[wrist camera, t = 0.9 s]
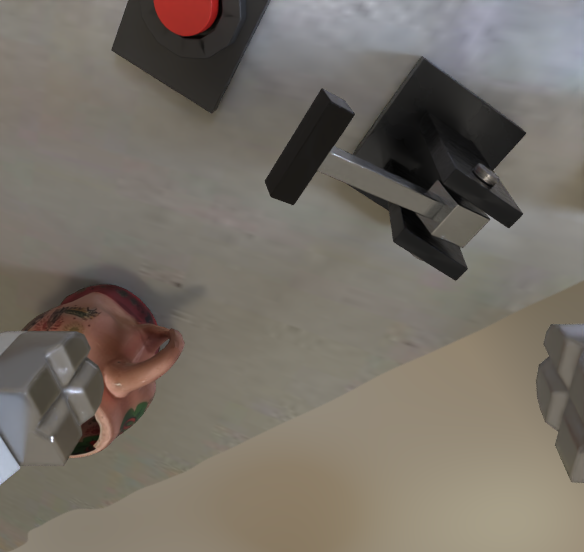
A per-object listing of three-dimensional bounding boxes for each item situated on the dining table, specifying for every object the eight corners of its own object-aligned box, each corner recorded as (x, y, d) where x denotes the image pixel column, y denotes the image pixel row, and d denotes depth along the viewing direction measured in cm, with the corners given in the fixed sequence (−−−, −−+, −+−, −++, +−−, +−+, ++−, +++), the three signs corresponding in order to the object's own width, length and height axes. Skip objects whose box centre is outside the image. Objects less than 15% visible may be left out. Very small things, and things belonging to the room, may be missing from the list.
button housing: (184, -142, 28) (167, -153, 26) (299, -57, 30) (293, -60, 27) (118, 48, 34) (99, 53, 32) (215, 109, 36) (205, 120, 33)
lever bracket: (338, 173, 37) (331, 253, 27) (422, 55, 32) (454, 96, 22) (429, 231, 39) (456, 328, 28) (521, 128, 34) (597, 200, 23)
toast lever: (261, 175, 23) (273, 204, 21) (317, 82, 20) (335, 107, 19) (427, 239, 29) (446, 265, 28) (486, 174, 27) (510, 199, 25)
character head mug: (164, 224, 42) (89, 321, 30) (240, 323, 47) (201, 440, 35) (15, 304, 49) (-92, 408, 37) (95, 383, 54) (24, 496, 42)
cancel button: (176, -47, 29) (166, -48, 27) (228, -10, 29) (222, -9, 28) (154, 12, 30) (144, 14, 29) (204, 45, 31) (196, 48, 30)
